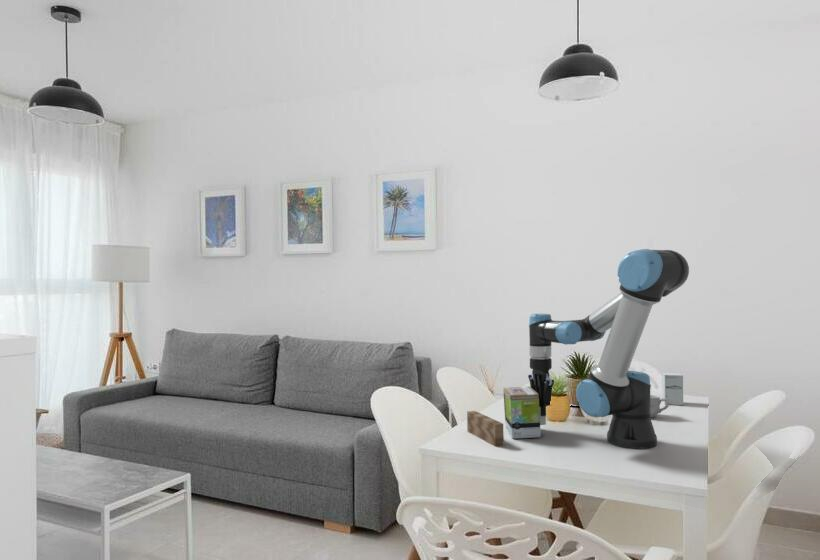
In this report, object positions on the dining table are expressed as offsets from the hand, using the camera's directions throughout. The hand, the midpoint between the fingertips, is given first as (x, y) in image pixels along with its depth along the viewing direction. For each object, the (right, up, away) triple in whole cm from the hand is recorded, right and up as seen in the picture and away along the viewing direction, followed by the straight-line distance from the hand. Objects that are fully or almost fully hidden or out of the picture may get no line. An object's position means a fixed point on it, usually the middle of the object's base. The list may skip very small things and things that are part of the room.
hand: (541, 424), depth 200 cm
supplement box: (+65, -1, +39) cm, 76 cm away
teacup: (+45, -2, +17) cm, 48 cm away
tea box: (-7, -2, -3) cm, 8 cm away
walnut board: (-21, -2, -8) cm, 23 cm away
